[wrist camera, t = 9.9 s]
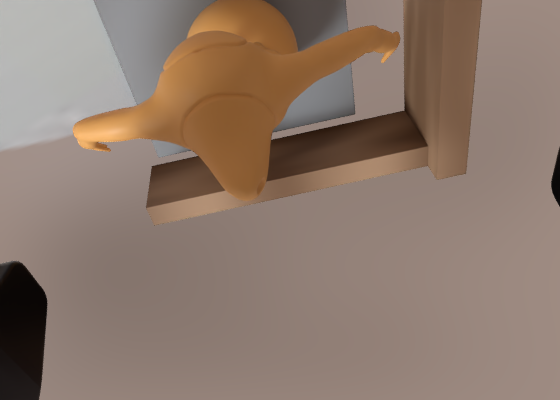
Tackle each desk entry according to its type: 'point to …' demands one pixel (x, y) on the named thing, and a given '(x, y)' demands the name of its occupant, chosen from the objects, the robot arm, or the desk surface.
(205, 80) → the figurine
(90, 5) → the desk surface
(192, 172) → the notched stand
